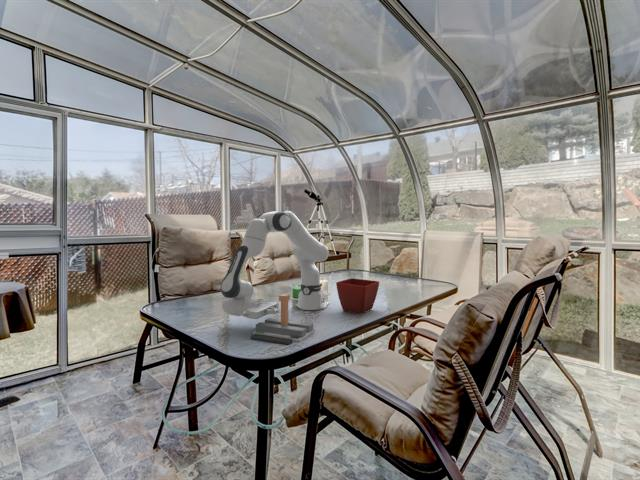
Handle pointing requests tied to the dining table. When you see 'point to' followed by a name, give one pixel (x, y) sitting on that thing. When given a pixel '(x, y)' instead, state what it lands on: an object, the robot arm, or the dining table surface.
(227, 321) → the dining table surface
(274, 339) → the twin grey rods
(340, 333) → the dining table surface
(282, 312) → the breaker handle
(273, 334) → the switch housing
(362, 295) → the plant pot
